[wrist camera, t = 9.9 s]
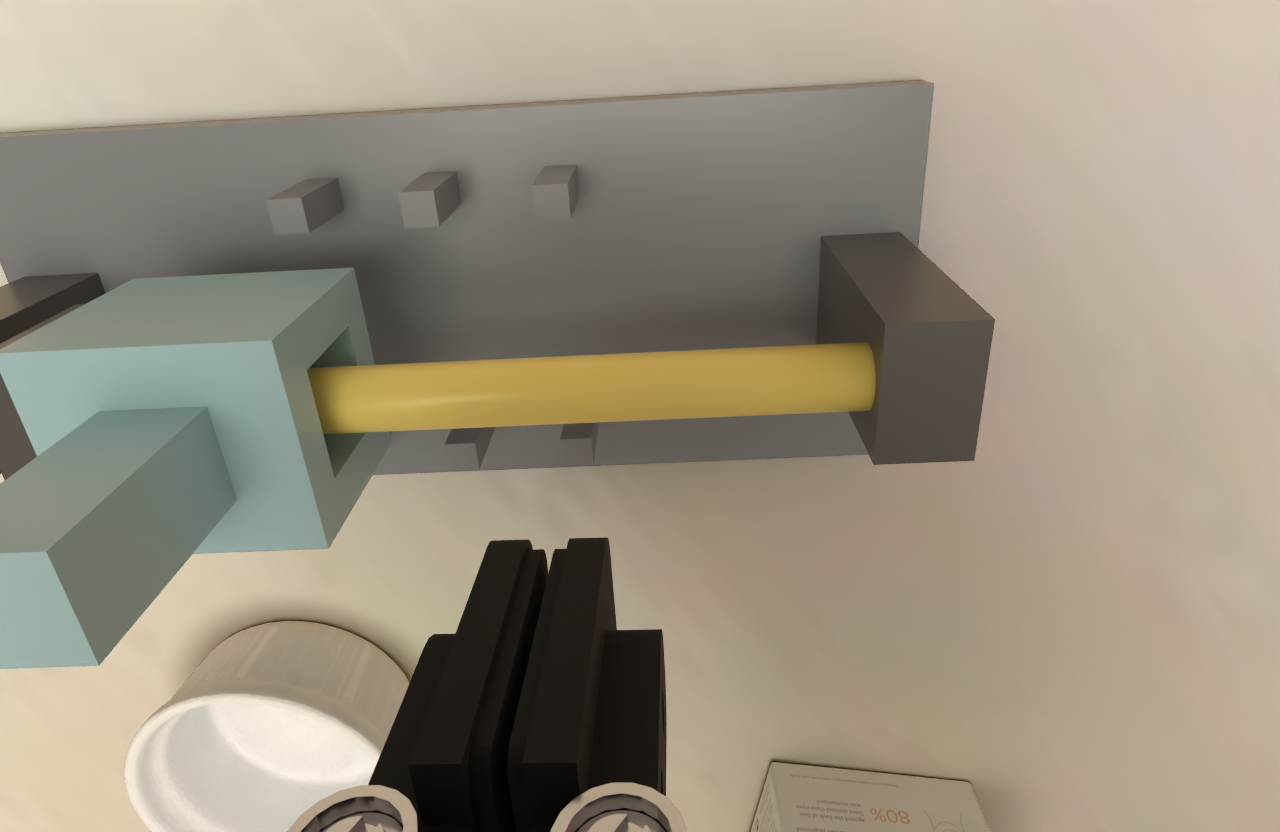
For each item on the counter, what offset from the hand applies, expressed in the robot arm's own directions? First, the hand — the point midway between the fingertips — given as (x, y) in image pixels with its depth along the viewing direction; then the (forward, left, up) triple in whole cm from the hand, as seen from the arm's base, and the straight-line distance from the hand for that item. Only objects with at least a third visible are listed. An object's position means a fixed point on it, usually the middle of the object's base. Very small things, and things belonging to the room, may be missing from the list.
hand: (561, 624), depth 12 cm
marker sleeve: (+8, -1, -8) cm, 11 cm away
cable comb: (+4, -1, -13) cm, 13 cm away
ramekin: (+12, +14, -13) cm, 23 cm away
